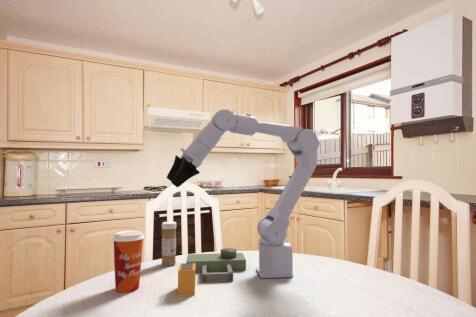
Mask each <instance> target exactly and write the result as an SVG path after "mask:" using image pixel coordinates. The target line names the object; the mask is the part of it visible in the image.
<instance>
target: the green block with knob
mask: <svg viewBox="0 0 476 317" xmlns="http://www.w3.org/2000/svg"><path fill="white" fill-rule="evenodd" d="M185 262H186V263H195V273H196V272H198V273H199V272H201V281H202V282H201V283H211V282H212V283H213V282H214V283H215V282H233V281H234V271H246V270H247V259H246V256H244V253H243V252H237V249H236V248H232V247H230V248H229V247H227V248H226V247H225V248H222V249H220V253H190V254H189V253H188V254H187V256H186V261H185Z"/></svg>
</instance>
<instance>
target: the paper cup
mask: <svg viewBox="0 0 476 317" xmlns="http://www.w3.org/2000/svg"><path fill="white" fill-rule="evenodd" d="M144 238H145V235H144V233H143V231H141V230H123V231H117V232H115V233H114V235H113V237H112V241H113V257H114V259H113V262H114V263H113V264H114V282H115V283H114V284H115V292H117V293H119V294H127V293H128V294H129V293H132V292H135V291H137V290H138V289H139V288H140V279H141V269H142V268H141V267H142V256H143V255H142V254H143V243H144Z"/></svg>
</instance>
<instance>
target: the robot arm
mask: <svg viewBox="0 0 476 317" xmlns="http://www.w3.org/2000/svg"><path fill="white" fill-rule="evenodd" d="M228 131H229V132H230V133H232V134H238V135H243V136H250V137H251V136H253V135H255V134H256V133H258V134H264V135H269V136H273V137H277V138H280V139H281V141H282V143H284V144H285V143H286V145H287V148H288V150H289V151H290V153H291V154H292V155H293V156H294V157H295V158H294V159H295V162H296V164H297V165H296V167H295V168H294V170H293V172H292V174H291V175H290V177H289V179H288V181H287V182H286V185H285V186H284V188H283V190H282V192H281V194H280V195H279V197H278V199H277V201H276V202H275V204H274V206H273V208H271V209H270V210H269V211H268V212H267V213H266V215H265V216H264V218H261V219H260V220H259V221H258V223H257V228H256V229H257V234H258V235H260V238H259V241H258V245H259V246H258V248H259V249H258V250H259V251H258V253H259V254H258V258H259V259H258V262H259V263H258V267H255V270H256V272H257V274H258V276H259V278H261V279H273V278H274V279H275V278H293V277H294V272H293V271H294V270H293V268H294V267H293V266H294V265H293V248H292V245H291V243H290V242H285V240H286V237H287V232H288V228H289V226H290V216H291V214H292V212H293V210H294V209H295V207H296V205H297V203H298V201H299V200H300V197H301V195H302V194H303V192H304V190H305V188H306V186H307V184H308V183H309V181H310V179H311V177H312V175H313V174H314V172H315V170H316V167H317V165H318V149H319V146H320V139H319V138H318V136H317V134H316V132H315V131H314V130H312V129H310V128H306V129H304V127H301V126H296V125H287V124H282V123H272V122H265V121H264V122H263V121H259V120H258V119H257V117H256V116H252V114H251V113H247V112H246V114H242V113H241V114H240V113H235V111H232V110H229V109H221V110H220V109H219V110H218V111H217V112H216V113H215V114H214V115H213V116H212V117H211V119H210V121H209V122H208V123H207V125H206V126H204V127H203V128H202V130H201V131H200V132H199V133H198V134H197V135H196V136H195V138H194V139H193V140H192V141H191V143H190V144H189V145H188V147H187V148H186V149H184V148H183V147H181V148H180V151H181V152H182V154H181V156H178V155H175V156H174V160H173V164H172V165H171V168H170V169H169V172H168V173H167V175H166V179H168V180H169V181H170V182H171V184H172V185H174V186H175V188H180V187H181V186H182V185H183V184H184V183H186V182H187V181H188V180H189V179H191V178H193V177H194V176H196V175H199V174H200V173H201V171H200V170H198V169H199V167H201V165H202V164H203V161H204V160H205V158H206V157H207V156H208V155H209V154H210V153H211V152H212V151H213V149H214V148H215V147H216V145H217V144H218V143H219V141H221V137H222V136H223V135H224V134H225V133H226V132H228Z"/></svg>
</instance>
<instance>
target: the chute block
mask: <svg viewBox="0 0 476 317" xmlns="http://www.w3.org/2000/svg"><path fill="white" fill-rule="evenodd" d="M195 293H196V272H195V263H185V262H184V263H183V262H182V263H179V266H178V269H177V296H178V297H180V296H195V295H196V294H195Z"/></svg>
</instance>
